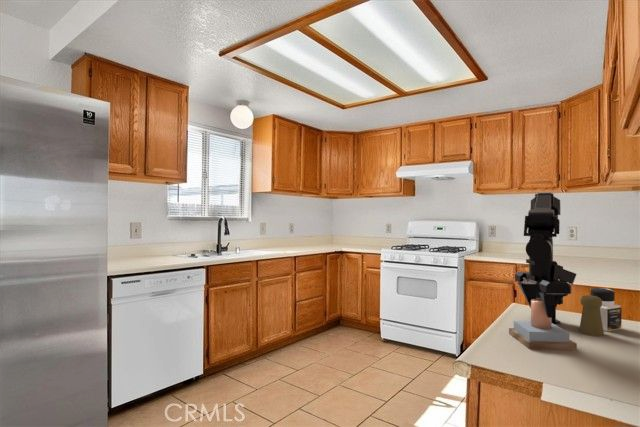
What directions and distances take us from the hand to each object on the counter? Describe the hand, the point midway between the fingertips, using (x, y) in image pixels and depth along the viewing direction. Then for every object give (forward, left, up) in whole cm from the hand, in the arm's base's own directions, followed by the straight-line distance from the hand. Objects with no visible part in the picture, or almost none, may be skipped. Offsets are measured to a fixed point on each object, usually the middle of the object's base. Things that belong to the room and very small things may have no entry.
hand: (540, 312), depth 103 cm
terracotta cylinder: (0, 0, -4) cm, 4 cm away
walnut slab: (0, 0, -9) cm, 9 cm away
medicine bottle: (-15, +26, -8) cm, 31 cm away
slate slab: (0, 0, -6) cm, 6 cm away
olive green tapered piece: (-9, +19, -8) cm, 23 cm away
